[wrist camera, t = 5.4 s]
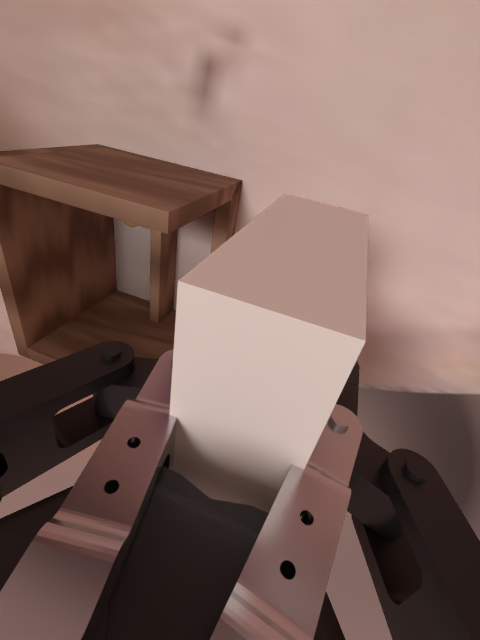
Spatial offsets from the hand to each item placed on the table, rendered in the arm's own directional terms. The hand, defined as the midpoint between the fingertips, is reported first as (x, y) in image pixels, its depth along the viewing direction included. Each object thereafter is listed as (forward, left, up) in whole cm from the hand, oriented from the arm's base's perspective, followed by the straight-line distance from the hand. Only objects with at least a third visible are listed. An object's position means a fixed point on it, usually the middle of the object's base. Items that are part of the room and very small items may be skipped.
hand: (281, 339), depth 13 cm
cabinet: (+6, -15, -17) cm, 23 cm away
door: (0, 0, -2) cm, 2 cm away
